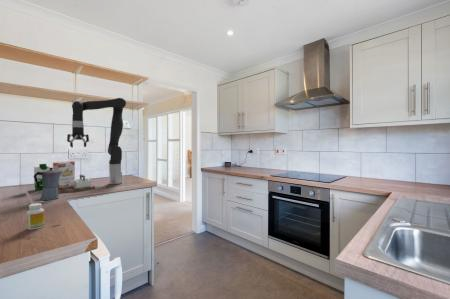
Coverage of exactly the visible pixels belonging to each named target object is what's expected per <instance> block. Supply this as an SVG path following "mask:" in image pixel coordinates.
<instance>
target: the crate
mask: <svg viewBox="0 0 450 299" xmlns="http://www.w3.org/2000/svg"><path fill="white" fill-rule="evenodd" d="M91 185H92V180H91V179H89V178H86V176H85V174H79V179H75V180H74V189H75V188H83V187H90V186H91Z"/></svg>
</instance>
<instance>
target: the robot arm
mask: <svg viewBox="0 0 450 299" xmlns="http://www.w3.org/2000/svg"><path fill="white" fill-rule="evenodd" d="M126 105H127V102H126V100H125V99H124V98H123V97H116V98H113V99H105V100H104V99H102V100H87V101H83V102H81V101H78V100H77V101H74V102H72V104H71V109H72V123H71V128H72V130H71V131H72V132H71V134H70V133H68V134H67V137H66V138H67V139H66V142H68V143H69V146H70V147H71V148H74V143H73V142H74V141H76V140H77V141H78V140H79V141H80V140H81V141H82V142H83V148H86V147H87V143H88V142H90V138H89V134H88V133H87V134H85V132H84V128H85V126H84V116H83V114H84V111H91V110H93V111H94V110H95V111H96V110H101V109H106V108H112V111H113V112H112V118H111V123H110V135H109V143H108V147H107V153H108V155H109V156H110V159H109V161H108V169H109V170H108V172H109V173H108V174H109V175H108V176H109V177H108V178H109V179H108V181H109V184H110V185H119V184H123V172H122V160H123V150H122V148H121V146H120V145H119V141H120V138H121V136H122V133H123V129H124V122H123V111H124V108H125V107H126ZM71 137H72V138H71ZM70 138H71V139H70ZM85 138H86V139H85Z"/></svg>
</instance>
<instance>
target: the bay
mask: <svg viewBox="0 0 450 299" xmlns="http://www.w3.org/2000/svg"><path fill="white" fill-rule="evenodd" d="M57 187H58V195H59V194H60V195H61V194H65V193H67V194H68V193H74V192H80V191H81V192H83V191H89V190H95V189H96V186H95V185H92V184H91V186H90V187H83V188H75V189H74V186H69V187H60V188H59V182H58V186H57Z"/></svg>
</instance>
